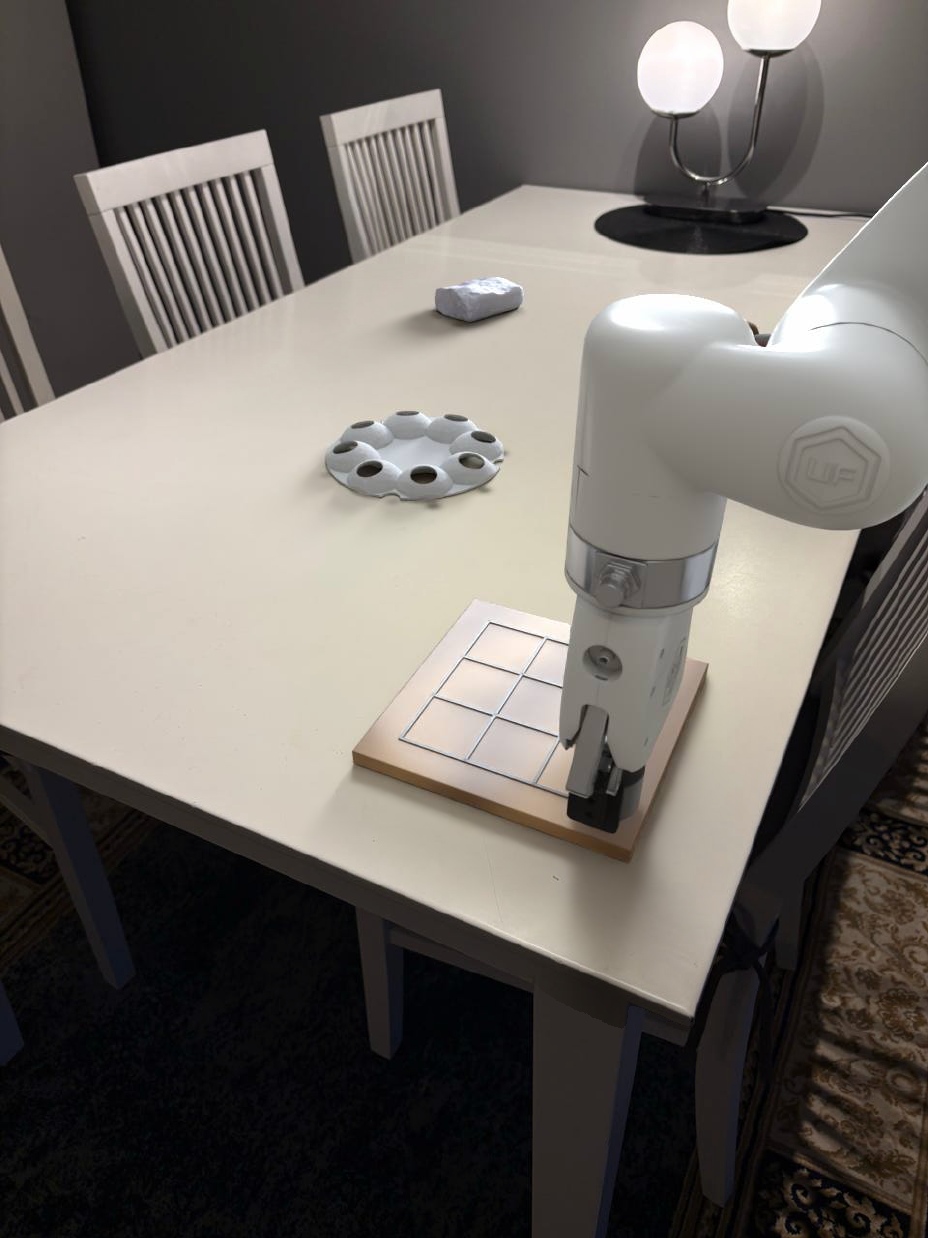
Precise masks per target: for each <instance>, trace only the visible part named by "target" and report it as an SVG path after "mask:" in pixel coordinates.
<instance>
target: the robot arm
mask: <svg viewBox="0 0 928 1238" xmlns="http://www.w3.org/2000/svg"><path fill="white" fill-rule="evenodd" d="M746 321H747V320H746V319H745V318H744V317H743V316H742V315H740V314H739V313H738V312H737V311H735V310H734V309H732V308H730V307H728V306H726V305H723V304H721V303H718V302H715V301H711V300H708V299H704V298H700V297H695V296H689V295H682V294H681V295H680V294H663V293H662V294H644V295H638V296H633V297H628V298H627V297H626V298H623V299H619V300H617V301H614V302H612V303H610V304H609V305H607V306H605V307H604V308H603V309H600V311H599V312H598V313H597V314H596V315H595V316H594V318H593V319H592V320H591V321H590V323H589V325H588V327H587V329H586V332H585V334H584V338H583V344H582V351H581V352H582V353H581V363H580V375H579V386H578V399H577V400H578V401H577V411H576V422H575V423H576V424H575V435H574V436H575V437H574V446H573V447H574V448H573V449H574V450H573V460H572V471H571V485H570V498H569V508H568V509H569V511H568V523H567V535H566V546H565V547H566V548H565V559H564V567H563V570H564V578H565V580H566V582H567V584H568V586H569V588H570V589H571V590H572V591H573V592H574V593H575V594H576V600H575V606H574V609H573V610H574V611H573V615H572V620H571V621H572V622H571V625H572V626H571V628H570V639H569V645H568V651H567V658H566V665H565V672H564V679H563V687H562V696H561V705H560V717H559V738H560V742H561V744H562V746H563V747H564V749H565V750H568V749H569V748H572V747H573V746H574V744H575V742H576V745H575V750H574V756H573V761H572V764H571V768H570V772H569V775H568V779H567V783H566V787H565V791H567V792H569V794H568V803H567V816H568V817H569V818H570V819H572V820H574V821H577V822H580V823H582V824H584V825H587V826H590V827H593V828H597V829H599V830H602V831H605V832H608V833H611V834H614V833H616V831H617V829H618V826H619V822H620V816H621V809H622V803H623V797H624V790H625V784H623V783H622V782H620V781H621V776H622V772H623V769H625V770H628V771H630V772H635V771H637V770H639V769H640V768H642V767H643V766H644V765H645V764H646V762H647V760H648V758H649V756H650V754H651V752H652V750H653V748H654V745H655V743H656V741H657V739H658V737H659V734H660V732H661V730H662V728H663V725H664V723H665V721H666V718H667V716H668V714H669V712H670V709H671V707H672V704H673V702H674V700H675V697H676V695H677V692H678V690H679V687H680V684H681V681H682V678H683V674H684V669H685V662H686V657H687V655H688V654H687V653H688V648H689V640H690V634H691V633H690V632H691V627H692V619H693V612H694V607H695V606H697V605H700V603H702V601H703V600H705V598H706V597H707V595H708V594H709V590H710V586H711V581H712V577H713V573H714V567H715V562H716V558H717V552H718V547H719V543H720V538H721V532H722V528H723V523H724V517H725V513H726V508H727V503H728V499H729V500H731V501H734V502H737V503H739V504H741V505H744V506H747V507H749V508H751V509H755V510H757V511H760V512H762V513H765V514H768V515H770V516H773V517H776V518H778V519H782V520H784V521H787V522H790V523H794V524H797V525H800V526H804V527H808V528H812V529H819V530H825V531H855V530H862V529H866V528H870V527H871V528H872V527H874V526H878V525H879V524H882V523H884V522H888V521H889V520H891V519H893V518H894V517H896V516H898V515H899V514H901V513H903V512H904V511H905V510H906V509H907V508H909V507H910V506H911V505H912V504H913V503H914V502H915V501H916V500H917V499H918V497H920V496H921V494H922V493H923V491H924V490H925V488H926V486H927V484H928V162H926V163H925V165H923V167H921V168H920V169H919V170H918V171H917V172H916V173H915V174H914V175H913V176H912V177H911V178H910V179H909V180H908V181H907V182H906V183H905V184H903V186H902V187H901V188H900V189H899V190H898V191H897V192H896V193H895V194H894V195H893V196H892V197H891V198H890V199H889V200H888V201H887V202H886V203H885V204H884V205H883V206H882V207H881V208H880V209H879V210H878V212H877V213H875V215H874V216H873V217H872V218H871V219H870V220H869V221H868V222H866V224H865V225H864V226H863V227H862V228H861V229H860V230H859V231H858V233H856V234H855V235H854V237H853V238H852V239H851V240H849V242H848V243H847V244H845V246H844V247H843V248H842V249H841V250H840V251H839V253H837V255H836V256H835V257H834V258H833V259H832V260H831V261H830V262H829V263H828V264H827V265H826V266H825V267H824V268H823V269H822V271H820V273H818V275H817V276H816V277H815V278H814V279H813V280H812V281H811V282H810V283H809V285H807V287H805V288H804V290H803V291H802V292H801V294H799V296H798V297H797V298H796V299H795V300H794V302H792V304H791V305H790V306H789V308H788V309H787V310H786V312H785V313H784V314H783V315H782V317H781V318H780V320H779V321H778V323H777V325H775V327H774V330H773V331H772V333H771V334H772V335H771V337H770V339H769V341H768V344H767V346H766V347H765V348H764V347H761V346H759V345H758V344H757V343H756V341H755V339H754V335H753V332H752V330H751V328H750V326H749V324H748V323H747V322H746ZM601 755H603V756H606V757H609V758H612V763H611V768H610V772H608V771H605V770H602V769H599V768H598V765H599V762H600V758H601Z"/></svg>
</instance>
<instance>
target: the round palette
mask: <svg viewBox="0 0 928 1238" xmlns="http://www.w3.org/2000/svg"><path fill="white" fill-rule="evenodd" d="M479 440H482V441H489V442H482V441H479ZM353 447H355V448H353ZM350 448H353V449H352V450H350V451H347V450H348V449H350ZM343 451H347V452H343ZM341 452H342V453H341ZM504 452H505V451H504V445H503V443H502V442H501V440H499V438H497V437H496V436H494V435H493V434H492V433H489V432H488V431H486V430H484V429H482V428H480V427H477V426H476V425H475V424H474V422H473V421H471V420H470V419H468V418H467V417H465V416H463V415H460V414H453V413H452V414H451V413H448V414H443V415H439V416H438V417H434V416H426V415H425V414H423V413H422V412H419V411H416V410H400V411H396V412H393V413H392V414H391V415H389V416H388V417H387V418H386V419H383V420H380V422H378V421H374V420H364V421H358V422H356V423H353V424H351V425H349V427H347V428H346V429H345V430H344V431H343V433H342V435H341V436H340V437H339V438H337V440H336V441H334V443H332V444H331V446H330V448H329V449H328V452H327V454H326V456H325V463H326V468H327V470H328V471H329V473H330V474H331V476H332V477H333V478H334V479H335V480H336V481H337V482H339V483H340V484H342V485H344V486H345V487H347V488H348V489H350V490H352V491H355V492H358V493H360V494H364V495H367V496H370V497H371V496H372V497H377V498H380V499H381V498H383V497H385V496H387V495H395V496H396V495H397V496H398V497H399V499H400V500H404V501H424V500H426V501H427V500H434V499H435V500H436V499H441V498H446V497H451V496H454V495H458V494H462V493H465V492H468V491H470V490H473V489H475V488H478V487H481V486H482V485H484V484H486V483H487V482H488V481H490V480H491V479H494V478H495V476H496V475H497V474H498V472H499V471H500V469H501V466H498V465H495V463H496V462H503V461H504V456H505V453H504ZM468 457H470V458H476V459H478V460H481V461H482V462H483V464H484V465H483V466H482V467H480V468H469V467H467V466H464V465H463V464H462V463H461V462H460V460H461V459H463V458H468ZM365 466H373V467H375V468H378V469H381V470H380V471H379V472H378V473H376V474H374V475H372V476H367V477H364V476H360V475H359V474H358V473H357V472H358V470H359V469H360V468H361V467H365ZM425 473H427V474H435V475H436V478H435V479H434V480H433V481H431V482H429V483H417V482H416V481H414V480H412V478H411V475H415V474H425Z"/></svg>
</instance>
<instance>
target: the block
mask: <svg viewBox="0 0 928 1238" xmlns="http://www.w3.org/2000/svg"><path fill="white" fill-rule="evenodd" d="M523 289H524V288H523V287H522V286H521V285H518V284H517V283H514V282H512V281H510V280H509V279H507V278H506V279H505V278H503V277H500V276H496V277H495V276H493V277H490V276H489V277H478V278H474V279H470V280H467V281H463V282H461V283H460V284H457V285H449V286H446V287H440V288H436V289H435V293H434V305H435V310H437V311H438V312H440V313H441V314H442V315H443V316H447V317H451V318H455V319H457V320H460V321H463V322H467V323H473V322H476V321H480V320H482V319H485V318H490V317H492V316H495V315H499V314H502V313H504V312H509V311H513V310H516V309H517V308H520V306H521V305H522V303H523V301H524V299H525V294H524V290H523Z"/></svg>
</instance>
